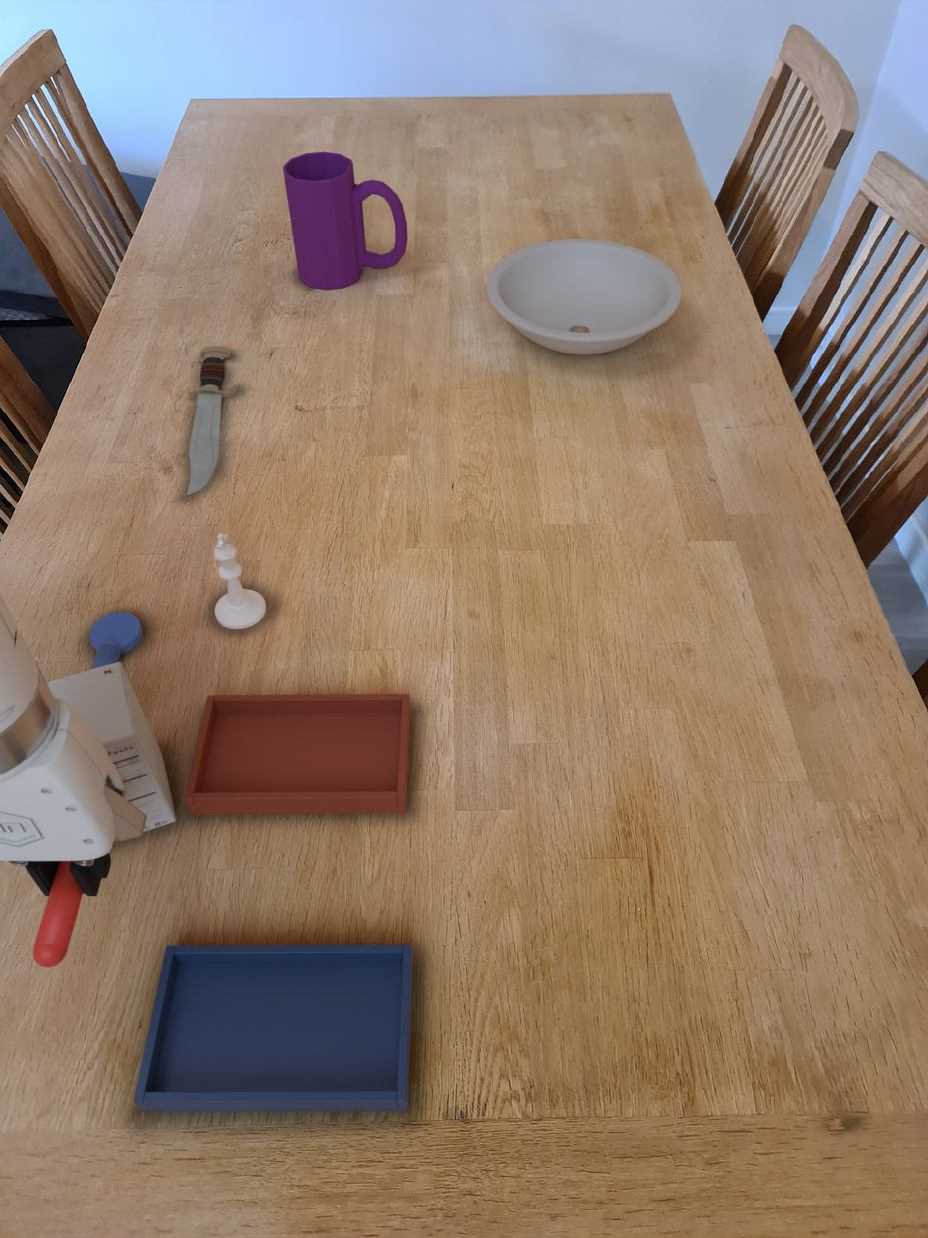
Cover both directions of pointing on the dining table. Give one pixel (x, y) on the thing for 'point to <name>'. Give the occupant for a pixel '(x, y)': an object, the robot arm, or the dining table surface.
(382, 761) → the terracotta tray
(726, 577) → the dining table surface
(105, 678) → the white packaging box
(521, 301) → the white vessel sink
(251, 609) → the chess piece
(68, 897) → the red spoon
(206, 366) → the knife
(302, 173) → the mug
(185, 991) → the slate-blue tray
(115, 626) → the blue spoon
